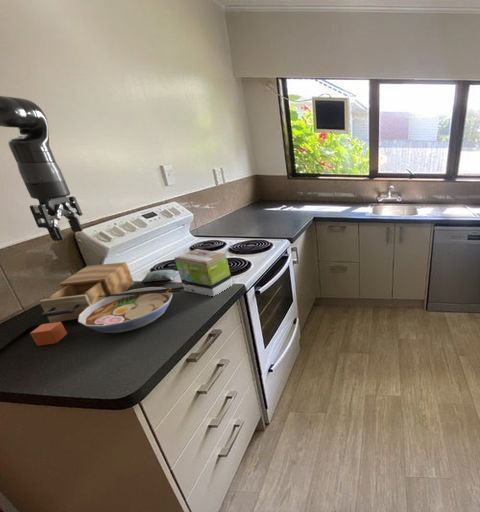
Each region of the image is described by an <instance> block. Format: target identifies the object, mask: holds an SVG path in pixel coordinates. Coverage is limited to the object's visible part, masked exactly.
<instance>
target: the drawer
mask: <svg viewBox="0 0 480 512" xmlns="http://www.w3.org/2000/svg"><path fill="white" fill-rule="evenodd" d="M102 295H108V292H107V290H106V287H105V285H104V283H103V281H99V282H90V283H81V284H72V285H67V286H65V287H64V288H61V289H59V290H58V291H55V292H54V293H53V294H51V295H50V296H48V298H45V299H40V300H39V301H38V303H39V304H40V307H41V308H42V310H43V312H42V313H41V316H42V317H43V318H46V317H47V320H48V321H49V323H54V322H63V321H70V320H78V319H79V315H80V314H81V313H82V312H83V311H84V310H85V309H86V308H87V307H89V306H91V305H92V304H94V303H96V302H98V301H100V300H102V299H105V298H107V297H100V296H102ZM108 297H109V296H108Z"/></svg>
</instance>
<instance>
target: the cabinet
mask: <svg viewBox="0 0 480 512" xmlns="http://www.w3.org/2000/svg"><path fill="white" fill-rule="evenodd" d="M99 281H103V283H104V285H105V287H106V290H107V292H108V295H109V297H110V296H111V295H112V294H118V293H122V292H126V291H129V289H131V287H132V286H133V285H134V284H135V281H134V278H133V276H132V274H131V270H130V268H129V266H128V262H127V261H123V262H113V263H103V264H93V265H86V266H85V267H83V268H81V269H80V270H79V271H77V272H76V273H74V274H72V275H70V276H69V277H68V278H66V279H64V280H63V281H61V282H59V286H60V288H61V289H62V288H64V287H65V286H67V285H72V284H81V283H90V282H99Z"/></svg>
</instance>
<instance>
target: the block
mask: <svg viewBox="0 0 480 512" xmlns="http://www.w3.org/2000/svg"><path fill="white" fill-rule="evenodd" d="M62 322H63V321H57V322H49V323H42V324H40V325H39V326H38V327H36V328H35V329H34V330H32V331H31V332H30V333H29V334H30V336H31V338H32V340H33V341H34V343H35V345H36V346H37V347H40V346H46V345H53V344H58V343H59V342H60V341H61V340H62V339H63V338H65V337H66V336H67V335H68V332H67V330H66V329H65V327H64V325H63V324H64V323H62Z"/></svg>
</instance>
